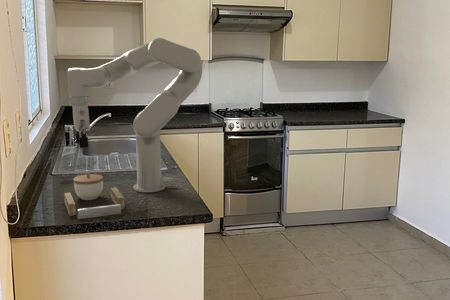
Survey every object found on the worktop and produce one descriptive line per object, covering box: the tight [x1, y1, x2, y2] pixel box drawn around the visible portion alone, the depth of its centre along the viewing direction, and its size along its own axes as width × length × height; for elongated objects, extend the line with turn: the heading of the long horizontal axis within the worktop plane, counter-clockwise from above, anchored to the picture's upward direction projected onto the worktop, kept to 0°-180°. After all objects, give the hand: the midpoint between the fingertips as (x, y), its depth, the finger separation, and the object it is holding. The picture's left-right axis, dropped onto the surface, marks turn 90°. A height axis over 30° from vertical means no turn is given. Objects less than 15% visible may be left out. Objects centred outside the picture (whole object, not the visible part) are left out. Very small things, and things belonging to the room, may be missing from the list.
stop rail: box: [76, 203, 122, 220], centre depth 163 cm, size 14×2×3 cm, turn 114°
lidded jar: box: [73, 172, 104, 201], centre depth 182 cm, size 11×11×9 cm
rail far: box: [63, 192, 77, 217], centre depth 170 cm, size 2×14×4 cm, turn 24°
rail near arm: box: [110, 187, 125, 210], centre depth 176 cm, size 2×14×4 cm, turn 24°
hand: (82, 145), depth 190 cm, fingers open, 8 cm apart
